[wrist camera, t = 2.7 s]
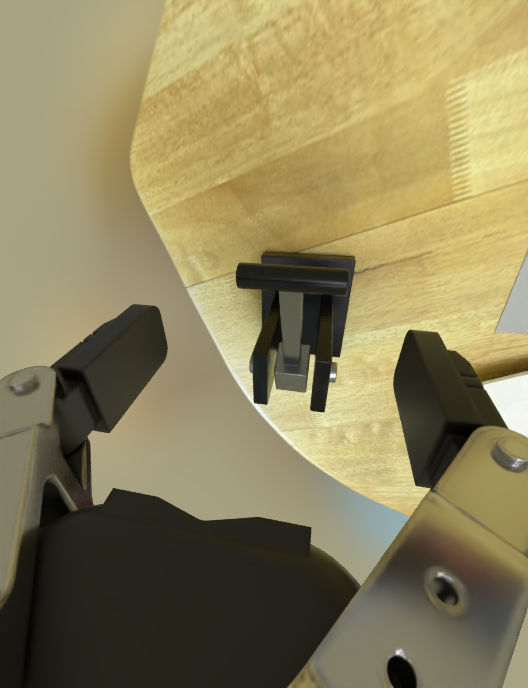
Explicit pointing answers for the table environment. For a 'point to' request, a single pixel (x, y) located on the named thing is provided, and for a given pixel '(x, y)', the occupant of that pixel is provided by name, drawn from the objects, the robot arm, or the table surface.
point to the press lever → (292, 310)
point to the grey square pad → (516, 306)
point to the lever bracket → (318, 328)
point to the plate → (511, 400)
